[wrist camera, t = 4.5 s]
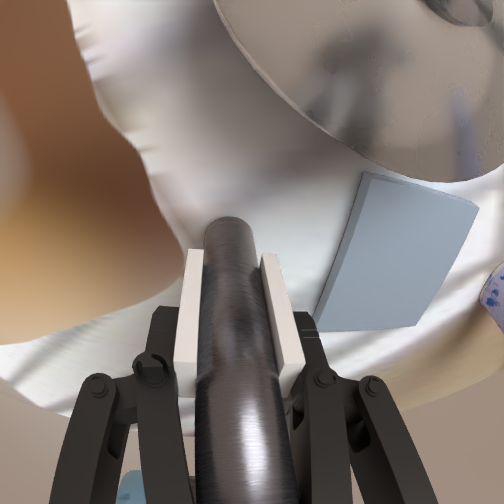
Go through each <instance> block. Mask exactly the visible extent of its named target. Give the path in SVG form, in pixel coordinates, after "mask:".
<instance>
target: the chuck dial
mask: <svg viewBox="0 0 504 504" xmlns="http://www.w3.org/2000/svg"><path fill="white" fill-rule="evenodd" d="M213 3H214V5H215V7H216V10H217V12H218V14H219V17H220V19H221V21H222V23H223V24H224V26H225V28H226V29H227V31H228V33H229V35H230V36H231V38H232V40H233V42H234V43H235V45H236V46H237V47H238V49H239V50H240V51H241V53H242V54H243V55H244V57H245V58H246V59H247V61H248V62H249V63H250V65H251V66H252V67H253V69H254V70H255V71H256V72H257V73H258V74H259V75H260V76H261V77H262V78H263V79H264V81H265V82H266V83H267V84H268V85H269V86H270V87H271V88H272V89H273V91H274V92H276V93H277V94H278V95H279V96H280V97H281V98H282V99H283V100H285V101H286V102H287V103H288V104H289V105H290V106H291V107H292V108H293V109H294V110H295V111H296V112H298V113H299V114H300V115H302V116H303V117H305V118H306V119H307V120H309V121H310V122H311V123H312V124H314V125H315V126H316V127H318V128H319V129H320V130H322V131H324V132H325V133H327V134H329V135H330V136H332V137H334V138H335V139H337V140H338V141H340V142H342V143H343V144H345V145H346V146H348V147H349V148H351V149H353V150H354V151H356V152H357V153H359V154H360V155H362V156H363V157H365V158H367V159H369V160H371V161H373V162H375V163H377V164H379V165H381V166H383V167H385V168H386V169H388V170H391V171H394V172H397V173H400V174H402V175H405V176H408V177H410V178H415V179H420V180H425V181H429V182H445V183H452V182H460V181H467V180H471V179H474V178H477V177H480V176H483V175H485V174H487V173H489V172H491V171H493V170H495V169H496V168H497V167H499V166H500V165H501V164H503V163H504V0H213Z"/></svg>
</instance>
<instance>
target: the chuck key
mask: <svg viewBox="0 0 504 504" xmlns="http://www.w3.org/2000/svg"><path fill="white" fill-rule="evenodd" d="M195 486H196V504H300V499H299V494H298V488H297V482H296V476H295V470H294V464H293V458H292V453H291V447H290V441H289V435H288V429H287V424H286V418H285V412H284V407H283V401H282V395H281V389H280V384H279V378H278V372H277V367H276V361H275V355H274V350H273V344H272V338H271V333H270V327H269V322H268V316H267V310H266V305H265V299H264V294H263V288H262V282H261V277H260V271H259V266H258V260H257V255H256V249H255V244H254V238H253V233H252V230H251V228H250V226H249V225H248V224H247V223H246V222H245V221H243V220H242V219H239V218H236V217H222V218H219V219H217V220H215V221H214V222H212V223H211V224H210V225H209V227H208V228H207V230H206V233H205V241H204V256H203V272H202V285H201V299H200V315H199V334H198V356H197V378H196V384H195Z"/></svg>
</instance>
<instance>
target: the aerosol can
mask: <svg viewBox="0 0 504 504" xmlns="http://www.w3.org/2000/svg"><path fill="white" fill-rule="evenodd" d="M479 301H480V303H481V304H482V306H485V308H486V309H487V310H488V312H489V313H490V315H491V316H492V317H493V319H494V320H495V322H496V323H497V325H498V326H499V328H500V329H501V331H502V332H503V334H504V262H503V263H501V264H500V265H499V266H498V267H497V268H496V269H495V271H494V272H493V273H492V274H491V275H490V277H489V278H488V280H487V281H486V283H485V285H484V287H483V288H482V291H481V294H480V298H479Z"/></svg>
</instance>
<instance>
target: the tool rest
mask: <svg viewBox="0 0 504 504" xmlns="http://www.w3.org/2000/svg"><path fill="white" fill-rule="evenodd" d="M478 210H479V207H478V206H476V205H475V204H474V203H472V202H471V201H468V200H465V199H462V198H459V197H456V196H453V195H450V194H447V193H444V192H441V191H437V190H434V189H431V188H427V187H424V186H420V185H417V184H413V183H409V182H406V181H402V180H398V179H394V178H390V177H386V176H382V175H378V174H373V173H369V172H363V176H362V179H361V183H360V186H359V189H358V193H357V196H356V199H355V202H354V205H353V209H352V212H351V215H350V218H349V221H348V224H347V227H346V230H345V233H344V236H343V239H342V241H341V244H340V247H339V250H338V253H337V256H336V258H335V261H334V264H333V266H332V269H331V272H330V274H329V277H328V280H327V282H326V285H325V287H324V290H323V293H322V295H321V298H320V300H319V303H318V305H317V307H316V310H315V312H314V315H313V317H312V318H313V319H314V322H315V325H316V328H317V331H318V332H342V331H361V330H376V329H388V328H400V327H410V326H415V325H416V324H417V322H418V321H419V319H420V318H421V317H422V315H423V313H424V312H425V310H426V309H427V307H428V306H429V304H430V303H431V301H432V299H433V298H434V296H435V295H436V293H437V291H438V290H439V288H440V286H441V285H442V283H443V281H444V279H445V278H446V276H447V274H448V272H449V271H450V269H451V267H452V265H453V263H454V261H455V259H456V258H457V256H458V254H459V252H460V250H461V248H462V246H463V244H464V242H465V240H466V237H467V235H468V233H469V231H470V229H471V227H472V224H473V222H474V220H475V218H476V215H477V213H478Z"/></svg>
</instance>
